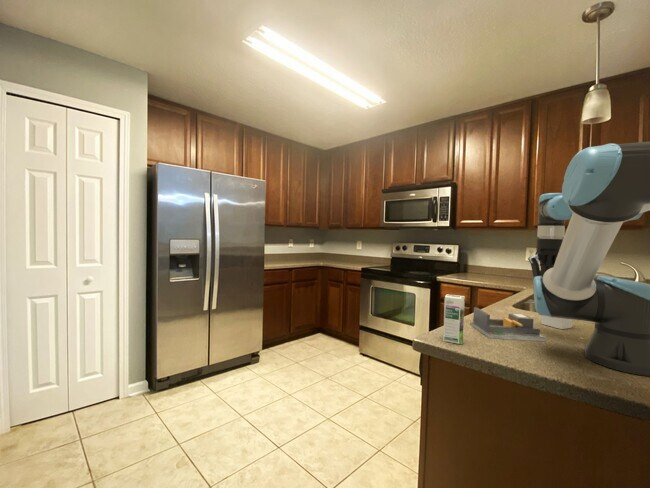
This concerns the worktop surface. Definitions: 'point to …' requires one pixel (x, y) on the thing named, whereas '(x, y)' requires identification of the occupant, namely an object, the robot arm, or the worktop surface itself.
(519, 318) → the grey block
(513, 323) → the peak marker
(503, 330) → the gauge bed
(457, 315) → the syrup box
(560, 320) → the milk carton
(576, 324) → the worktop surface
